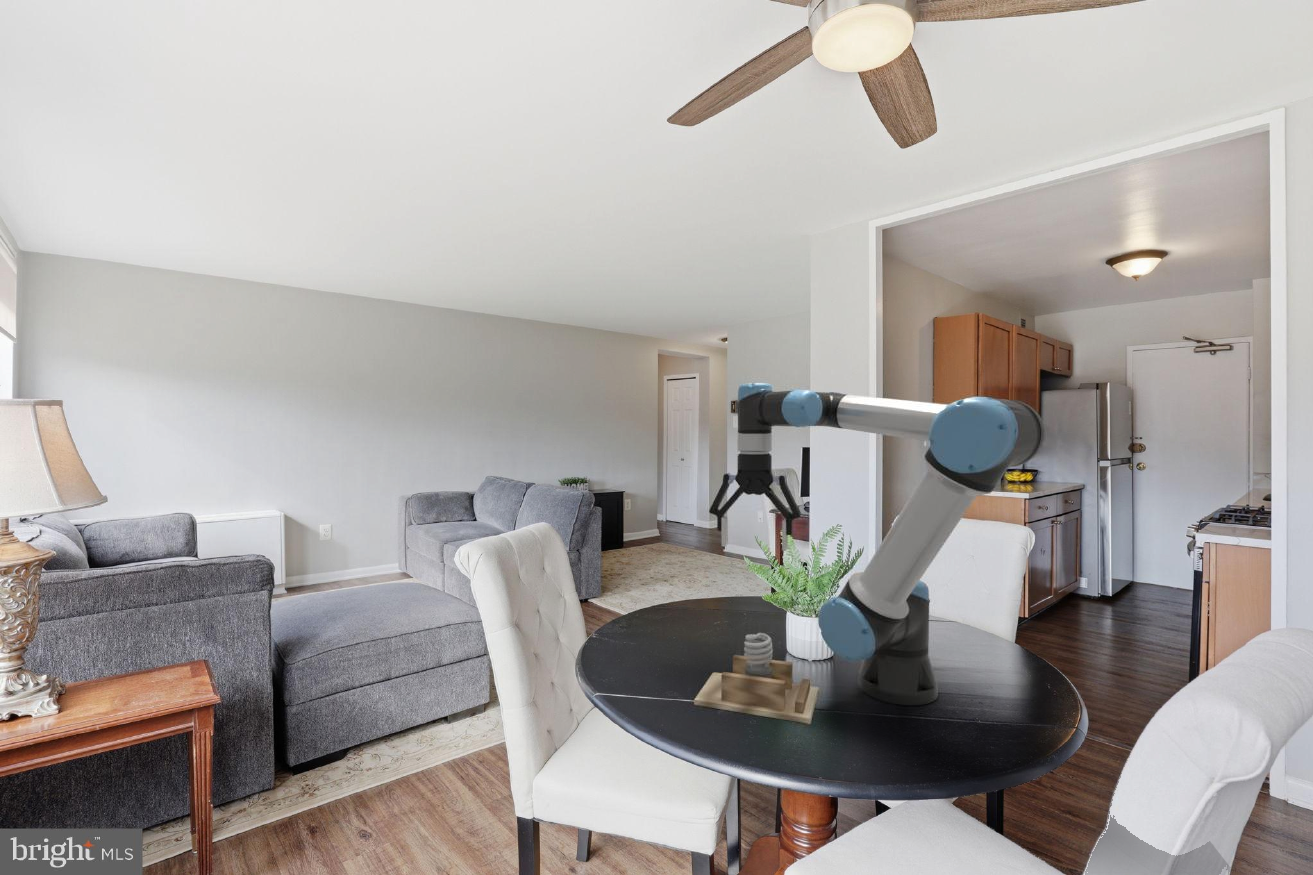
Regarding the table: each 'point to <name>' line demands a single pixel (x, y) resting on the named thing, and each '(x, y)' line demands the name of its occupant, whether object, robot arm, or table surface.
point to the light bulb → (758, 655)
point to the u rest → (760, 692)
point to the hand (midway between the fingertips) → (754, 547)
